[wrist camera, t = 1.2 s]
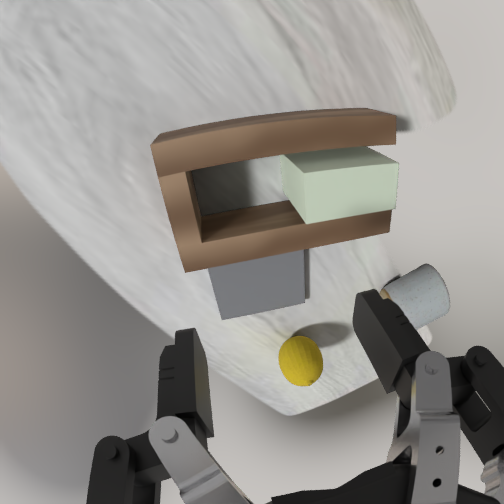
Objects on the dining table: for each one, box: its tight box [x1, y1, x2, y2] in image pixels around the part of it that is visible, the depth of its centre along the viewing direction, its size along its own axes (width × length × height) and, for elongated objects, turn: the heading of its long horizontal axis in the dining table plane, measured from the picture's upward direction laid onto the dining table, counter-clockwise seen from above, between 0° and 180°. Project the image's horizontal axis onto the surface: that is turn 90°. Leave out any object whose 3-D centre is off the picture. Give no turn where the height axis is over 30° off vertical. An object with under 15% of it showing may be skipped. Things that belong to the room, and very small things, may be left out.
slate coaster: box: [208, 250, 305, 320], centre depth 32 cm, size 10×10×1 cm
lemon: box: [279, 336, 323, 386], centre depth 36 cm, size 6×6×8 cm
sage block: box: [280, 146, 399, 224], centre depth 24 cm, size 4×8×7 cm, turn 97°
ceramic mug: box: [380, 264, 450, 330], centre depth 35 cm, size 11×8×8 cm
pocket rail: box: [150, 108, 396, 273], centre depth 24 cm, size 11×19×5 cm, turn 97°
